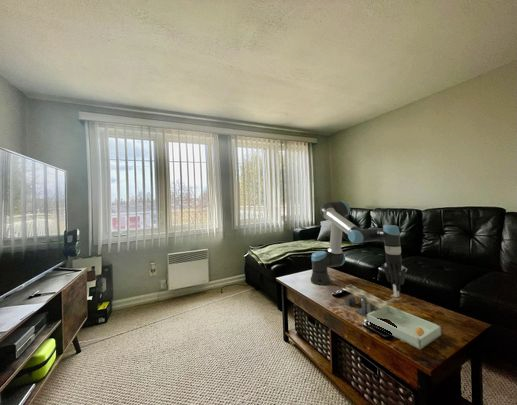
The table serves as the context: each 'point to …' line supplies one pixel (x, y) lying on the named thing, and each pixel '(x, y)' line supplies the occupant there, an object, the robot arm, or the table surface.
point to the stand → (365, 308)
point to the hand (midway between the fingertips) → (396, 296)
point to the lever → (371, 297)
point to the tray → (405, 326)
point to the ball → (419, 331)
